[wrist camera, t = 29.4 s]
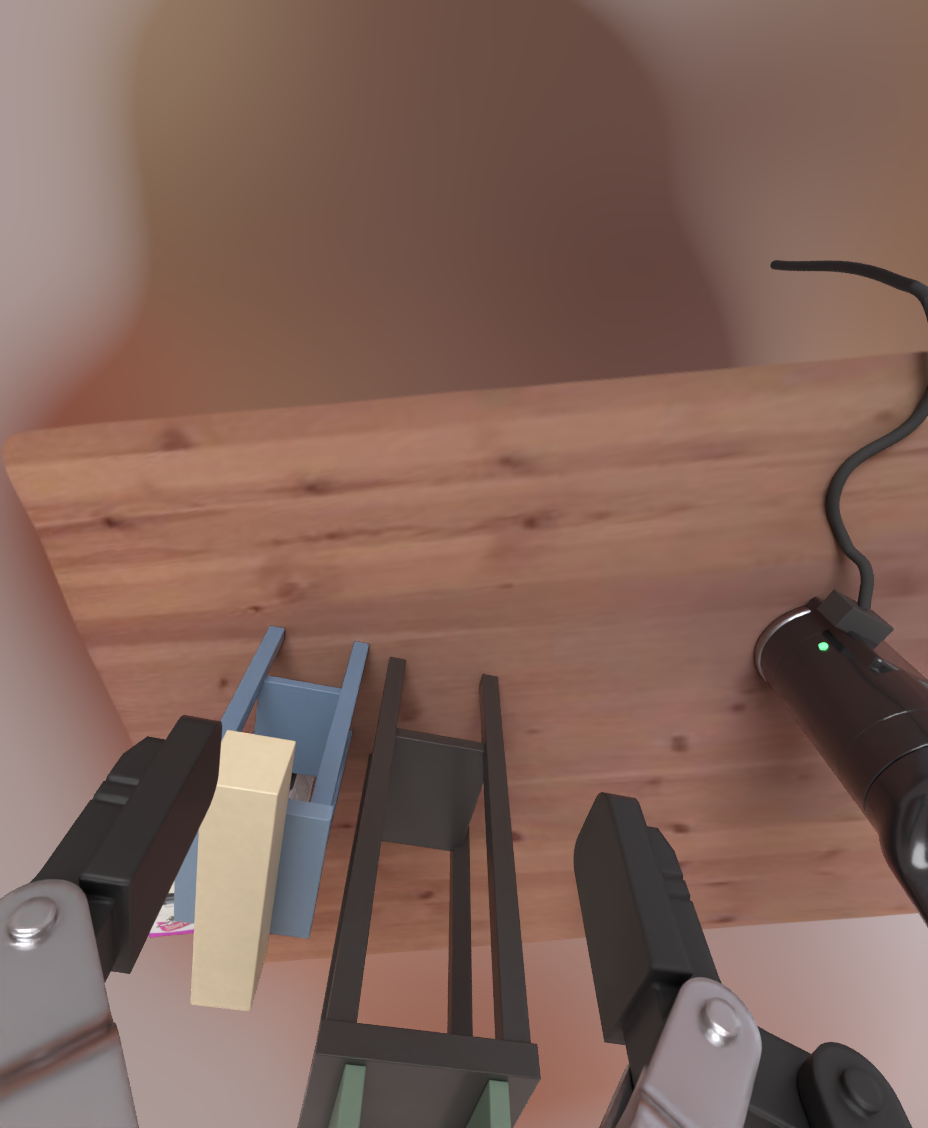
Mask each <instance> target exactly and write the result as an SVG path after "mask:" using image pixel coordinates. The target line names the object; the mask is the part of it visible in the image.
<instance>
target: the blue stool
mask: <svg viewBox="0 0 928 1128" xmlns="http://www.w3.org/2000/svg"><path fill="white" fill-rule="evenodd" d="M284 633H285V628H280V627H275V626H270V627H269V629H268V631H267V632H266V634H265V636H264V638H263V640H262V642H261V644H260V646H259V648H258V650H257V652H256V654H255V656H254V658H253V659H252V661H251V663H250V665H249V667H248V669H247V671H246V673H245V675H244V677H243V679H242V681H241V683H240V684H239V686H238V688H237V690H236V692H235V694H234V696H233V698H232V700H231V702H230V704H229V706H228V708H227V710H226V711H225V713H224V715H223V717H222V719H221V721H220V722H222V739H223V737H224V735H225V733H226V731H227V730H232V731H238V732H241V731H242V729H243V727H244V725H245V723H246V720H247V718H248V716H249V714H250V712H251V710H252V707H253V705H254V703H255V701H256V699H257V697H258V701H257V712H256V722H255V730H254V732H253V734H256V735H262V736H268V737H274V738H280V739H286V740H292V741H296V746H295V753H294V761H293V768H292V773H295V774H302V775H308V776H314V777H317V778H316V782H315V786H314V789H313V793H312V797H311V800H310V802H306V801H300V800H293V799H288V804H287V811H286V818H285V825H284V832H283V840H282V847H281V854H280V861H279V868H278V875H277V883H276V890H275V897H274V904H273V911H272V919H271V926H270V933H269V934H277V935H285V936H292V937H300V938H307V939H308V938H309V936H310V931H311V927H312V922H313V917H314V911H315V906H316V901H317V895H318V890H319V885H320V879H321V874H322V868H323V863H324V858H325V852H326V848H327V844H328V839H329V835H330V830H331V826H332V821H333V817H334V813H335V808H336V804H337V799H338V795H339V791H340V786H341V782H342V777H343V773H344V769H345V764H346V760H347V755H348V751H349V746H350V742H351V737H352V732H353V731H352V730H350V726H351V722H352V718H353V713H354V709H355V705H356V701H357V696H358V692H359V688H360V684H361V679H362V675H363V671H364V666H365V662H366V658H367V653H368V648H369V644H367V643H362V642H356V641H355V642H354V645H353V648H352V652H351V655H350V659H349V663H348V666H347V670H346V674H345V677H344V681H343V684H342V688H336V687H330V686H324V685H319V684H313V683H307V682H302V681H296V680H290V679H285V678H279V677H273V676H268V673H269V671H270V669H271V666H272V664H273V662H274V660H275V658H276V656H277V653H278V651H279V649H280V647H281V645H282V643H283V641H284ZM222 739H221V741H222ZM198 836H199V830H198V832H197V834H196V836H195V839H194V841H193V843H192V845H191V847H190V849H189V851H188V853H187V855H186V857H185V860H184V862H183V864H182V866H181V868H180V870H179V872H178V874H177V876H176V878H175V881H174V921H177V922H185V923H193V924H194V920H195V899H196V878H197V857H198Z"/></svg>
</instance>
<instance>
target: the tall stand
mask: <svg viewBox="0 0 928 1128" xmlns="http://www.w3.org/2000/svg"><path fill="white" fill-rule="evenodd" d="M405 662H406V660H404V659H399V658H393V657H390V660H389V665H388V669H387V675H386V681H385V686H384V692H383V698H382V703H381V709H380V715H379V720H378V726H377V732H376V737H375V743H374V749H373V754H369V759H368V764H367V769H366V775H365V780H364V785H363V791H362V796H361V802H360V807H359V813H358V818H357V824H356V829H355V835H354V840H353V845H352V851H351V856H350V862H349V867H348V873H347V878H346V884H345V889H344V895H343V900H342V905H341V911H340V916H339V922H338V927H337V933H336V938H335V944H334V949H333V955H332V960H331V966H330V971H329V976H328V982H327V988H326V993H325V999H324V1004H323V1009H322V1015H321V1021H320V1025H319V1031H318V1036H317V1042H316V1046H315V1051H314V1055H313V1060H312V1064H311V1069H310V1073H309V1078H308V1082H307V1087H306V1091H305V1095H304V1100H303V1104H302V1109H301V1114H300V1118H299V1122H298V1127H297V1128H513V1127H514V1125H515V1123H516V1122H517V1120H518V1118H519V1116H520V1115H521V1113H522V1111H523V1109H524V1107H525V1105H526V1104H527V1102H528V1100H529V1099H530V1097H531V1095H532V1093H533V1092H534V1090H535V1088H536V1086H537V1084H538V1083H539V1081H540V1078H541V1077H540V1067H539V1057H538V1047H537V1044H532V1043H531V1040H530V1029H529V1018H528V1007H527V997H526V985H525V974H524V963H523V953H522V941H521V930H520V919H519V908H518V896H517V885H516V874H515V863H514V852H513V841H512V830H511V819H510V808H509V797H508V786H507V775H506V764H505V753H504V742H503V731H502V720H501V709H500V698H499V687H498V677H496V676H491V675H485V674H483V675H482V678H481V682H480V685H479V691H480V712H481V734H482V743H480V742H474V741H468V740H462V739H457V738H451V737H445V736H439V735H433V734H427V733H421V732H415V731H410V730H404V729H398V728H397V721H398V713H399V706H400V699H401V691H402V684H403V676H404V669H405ZM483 781H484V800H485V822H486V844H487V865H488V887H489V909H490V931H491V952H492V972H493V997H494V1018H495V1039H490V1038H481V1037H473V1029H472V969H471V907H470V847H469V823H470V820H471V817H472V814H473V811H474V808H475V805H476V802H477V799H478V796H479V793H480V790H481V787H482V784H483ZM381 841H386V842H393V843H400V844H406V845H413V846H420V847H427V848H433V849H440V850H447V851H450V903H449V966H448V971H449V972H448V1029H447V1031H448V1032H447V1033H437V1032H430V1031H421V1030H413V1029H404V1028H396V1027H387V1026H378V1025H370V1024H361V1023H357V1016H358V1009H359V1002H360V994H361V987H362V980H363V972H364V964H365V957H366V950H367V943H368V935H369V928H370V920H371V913H372V906H373V898H374V891H375V883H376V876H377V869H378V861H379V854H380V846H381Z"/></svg>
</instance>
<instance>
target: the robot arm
mask: <svg viewBox="0 0 928 1128" xmlns="http://www.w3.org/2000/svg"><path fill="white" fill-rule="evenodd" d="M770 267H771V268H772V269H775V270H784V271H785V270H786V271H829V272H842V273H849V274H855V275H859V276H863V277H867V278H870V279H873V280H876V281H879V282H882V283H884V284H886V285H889V286H891V287H894V288H896V289H898V290H901V291H904V292H907V293H910V294H912V295H914V296H915V297H916V298H917V299H918V300H919V301H920V302H921V304H922V306H923V308H924V311H925V314H926V317H927V321H928V286H926V285H925V284H923V283H921V282H919V281H917V280H914V279H911V278H907V277H904V276H901V275H898V274H896V273H893V272H891V271H888V270H886V269H883V268H879V267H876V266H872V265H867V264H863V263H858V262H849V261H831V260H830V261H829V260H828V261H782V260H774V261H772V262H771V265H770ZM927 416H928V386H927V389H926V392H925V394H924V396H923V398H922V400H921V402H920V404H919V406H918V407H917V409H916V410H915V412H914V413H913V415H912V416H911V417H910V418H909V419H908V420H907V421H906V422H905V423H903V424H902V425H901V426H900V427H898V428H897V429H895V430H894V431H892V432H890V433H889V434H887V435H885V436H883V437H881V438H880V439H878V440H876V441H874V442H872V443H870V444H868V445H867V446H865V447H863V448H862V449H860V450H859V451H857V452H856V453H854V454H853V455H852V456H850V457H849V458H848V459H847V460H846V461H845V462H844V463H843V464H842V465H841V467H840V468H839V469H838V471H837V473H836V474H835V476H834V478H833V480H832V482H831V485H830V488H829V491H828V495H827V502H826V508H827V515H828V518H829V521H830V524H831V527H832V529H833V531H834V534H835V536H836V538H837V540H838V542H839V544H840V546H841V549H842V550H843V552H844V553H845V554H846V556H847V557H848V558H850V559H851V560H852V561H853V562H854V563H855V564H856V565H857V566H858V568H859V571H860V576H861V585H860V592H859V597H858V602H856V601H854V600H852V599H850V598H848V597H846V596H845V595H843V594H841V593H839V592H837V591H835V590H834V591H833V592H832V593H831V594H830V595H829V596H828V597H827V598H826V599H825V600H824V601H823V600H821V599H819V598H817V597H815V598H813V599H812V600H811V601H810V602H809V603H808V604H807V605H805V606H803V607H799V608H796V609H794V610H791V611H789V612H787V613H785V614H783V615H782V616H780V617H779V618H777V619H776V620H775V621H773V622H772V623H771V624H770V625H769V626H768V627H767V628H766V629H765V631H764V632H763V633H762V635H761V637H760V638H759V640H758V642H757V645H756V648H755V656H754V657H755V664H756V667H757V669H758V671H759V673H760V674H761V676H762V677H763V678H764V680H765V681H766V682H767V683H768V684H769V686H770V687H771V688H772V689H773V691H774V692H775V693H776V694H777V696H778V697H779V699H780V700H781V701H782V703H783V704H784V705H785V707H786V708H787V709H788V711H789V712H790V714H791V715H792V716H793V718H794V719H795V720H796V722H797V723H798V724H799V726H800V727H801V729H802V730H803V731H804V733H805V734H806V735H807V737H808V738H809V739H810V741H811V742H812V744H813V745H814V746H815V748H816V749H817V750H818V752H819V753H820V755H821V756H822V757H823V759H824V760H825V761H826V763H827V764H828V765H829V767H830V768H831V770H832V771H833V772H834V774H835V775H836V776H837V778H838V779H839V780H840V782H841V783H842V785H843V786H844V787H845V789H846V790H847V792H848V793H849V794H850V796H851V797H852V798H853V800H854V801H855V802H856V804H857V805H858V807H859V808H860V809H861V811H862V812H863V813H864V815H865V816H866V818H867V819H868V820H869V822H870V823H871V825H872V826H873V827H874V829H875V830H876V832H877V833H878V836H879V841H880V846H881V850H882V853H883V856H884V858H885V860H886V862H887V864H888V866H889V868H890V869H891V871H892V872H893V874H894V876H895V877H896V879H897V880H898V882H899V883H900V885H901V886H902V888H903V889H904V891H905V893H906V894H907V896H908V897H909V899H910V900H911V902H912V904H913V905H914V907H915V908H916V910H917V911H918V913H919V914H920V916H921V918H922V919H923V921H924V922H925V924H926V926H927V927H928V680H927V679H926V678H925V677H924V676H923V675H922V674H921V673H920V672H918V671H917V670H916V669H915V668H914V667H913V666H912V665H911V664H909V663H908V662H907V661H906V660H905V659H904V658H903V657H902V656H901V655H899V654H898V653H897V652H896V651H895V650H894V649H893V648H892V647H891V646H889V645H888V644H887V643H886V642H885V641H884V639H885V638H886V637H887V636H888V635H889V634H890V633H891V632H892V631H893V630H894V628H893V627H891V626H890V625H889V624H888V623H887V622H885V621H884V620H883V619H882V618H881V617H880V616H878V615H877V614H876V613H875V612H874V611H872V610H870V608H871V599H872V593H873V587H874V575H873V570H872V567H871V564H870V562H869V561H868V560H867V558H866V557H865V556H864V555H862V554H861V553H860V552H859V551H858V550H856V549H855V547H854V546H853V544H852V542H851V540H850V538H849V535H848V533H847V531H846V529H845V527H844V524H843V522H842V519H841V515H840V510H839V501H840V496H841V492H842V489H843V486H844V484H845V482H846V480H847V478H848V477H849V475H850V474H851V472H852V471H853V470H854V469H855V468H856V467H857V466H858V465H859V464H861V463H862V462H863V461H865V460H866V459H868V458H869V457H871V456H873V455H875V454H876V453H878V452H880V451H882V450H884V449H886V448H888V447H890V446H892V445H893V444H895V443H897V442H899V441H900V440H902V439H903V438H905V437H906V436H908V435H909V434H910V433H912V432H913V431H914V430H915V429H917V428H918V427H919V425H920V424H921V423H922V422H923V421H924V420H925V419H926V417H927ZM221 739H222V722H220V721H215V720H209V719H204V718H198V717H193V716H187V715H183V716H182V717H181V718H180V719H179V720H178V721H177V723H176V725H175V726H174V728H173V729H172V731H171V732H170V734H169V736H168V737H167V739H166V740H164V739H159V738H153V737H148V736H147V737H146V738H145V739H143V740H142V741H140V742H139V743H138V744H136V745H135V746H133V747H132V748H131V749H129V750H128V751H126V752H125V753H124V754H123V755H122V756H121V757H120V759H119V760H118V762H117V763H116V764H115V766H114V767H113V769H112V770H111V772H110V773H109V774H108V776H107V779H106V781H103V783H102V784H101V786H100V787H99V789H98V790H97V791H96V793H95V794H94V797H93V799H92V800H90V801H89V803H88V804H87V806H86V807H85V809H84V810H83V811H82V813H81V814H80V816H79V817H78V818H77V820H76V821H75V823H74V824H73V825H72V827H71V828H70V830H69V831H68V833H67V834H66V835H65V837H64V838H63V840H62V841H61V842H60V844H59V845H58V847H57V848H56V850H55V851H54V853H53V854H52V856H51V857H50V858H49V860H48V861H47V863H46V864H45V865H44V867H43V868H42V869H41V871H40V872H39V873H38V874H37V876H36V877H35V878H34V879H33V880H32V881H31V882H30V883H28V884H26V885H23V886H21V887H19V888H17V889H15V890H13V891H11V892H9V893H8V894H6V895H5V896H4V897H2V898H1V899H0V1128H139V1125H138V1121H137V1116H136V1111H135V1106H134V1102H133V1097H132V1092H131V1087H130V1083H129V1078H128V1073H127V1069H126V1064H125V1059H124V1055H123V1050H122V1046H121V1041H120V1037H119V1033H118V1029H117V1026H116V1024H115V1023H114V1022H113V1019H112V1016H111V1012H110V1007H109V1002H108V997H107V992H106V988H105V982H106V979H107V978H108V976H109V974H110V972H111V971H113V972H120V973H127V974H130V973H131V971H132V968H133V967H134V964H135V962H136V960H137V958H138V956H139V954H140V952H141V950H142V948H143V946H144V943H145V941H146V939H147V937H148V935H149V933H150V931H151V929H152V927H153V925H154V922H155V920H156V918H157V916H158V914H159V912H160V910H161V908H162V906H163V904H164V902H165V899H166V897H167V895H168V893H169V891H170V889H171V887H172V885H173V883H174V881H175V878H176V876H177V874H178V872H179V870H180V868H181V866H182V864H183V862H184V860H185V857H186V855H187V853H188V851H189V849H190V847H191V845H192V843H193V841H194V839H195V836H196V834H197V832H198V830H199V828H200V826H201V824H202V822H203V820H204V818H205V815H206V813H207V811H208V809H209V807H210V805H211V802H212V799H213V797H214V793H215V790H216V786H217V782H218V777H219V765H220V752H221ZM574 871H575V877H576V883H577V888H578V894H579V900H580V906H581V911H582V917H583V923H584V928H585V934H586V940H587V945H588V951H589V957H590V962H591V968H592V974H593V979H594V985H595V991H596V997H597V1002H598V1008H599V1014H600V1019H601V1025H602V1030H603V1036H604V1042H607V1043H614V1044H621V1045H626V1049H627V1055H628V1059H629V1064H628V1065H627V1067H626V1069H625V1070H624V1073H623V1075H622V1077H621V1079H620V1081H619V1084H618V1086H617V1088H616V1091H615V1093H614V1095H613V1097H612V1100H611V1102H610V1104H609V1106H608V1109H607V1111H606V1113H605V1115H604V1118H603V1120H602V1122H601V1125H600V1127H599V1128H912V1126H911V1124H910V1122H909V1120H908V1118H907V1116H906V1114H905V1112H904V1110H903V1107H902V1105H901V1103H900V1101H899V1099H898V1097H897V1095H896V1094H895V1092H894V1090H893V1089H892V1087H891V1086H890V1084H889V1083H888V1082H887V1080H886V1079H885V1078H884V1076H883V1075H882V1074H881V1073H880V1072H879V1071H878V1069H877V1068H876V1067H875V1066H874V1065H873V1064H872V1063H871V1062H869V1061H868V1060H867V1059H866V1058H865V1057H863V1056H862V1055H861V1054H860V1053H858V1052H856V1051H855V1050H853V1049H851V1048H849V1047H848V1046H845V1045H843V1044H840V1043H834V1042H827V1043H824V1044H821V1045H820V1046H819V1047H818V1048H817V1049H816V1050H815V1051H814V1052H813V1053H812V1054H810V1053H808V1052H806V1051H804V1050H802V1049H800V1048H798V1047H796V1046H794V1045H792V1044H790V1043H788V1042H786V1041H784V1040H782V1039H780V1038H779V1037H777V1036H775V1035H773V1034H771V1033H769V1032H767V1031H765V1030H763V1029H762V1028H760V1027H759V1026H757V1024H756V1022H755V1020H754V1018H753V1016H752V1015H751V1013H750V1011H749V1010H748V1008H747V1007H746V1006H745V1004H744V1003H743V1002H742V1001H741V1000H740V999H739V998H738V997H737V996H736V995H735V994H734V993H733V992H732V991H731V990H730V989H728V988H727V987H725V986H724V985H723V984H722V983H721V981H720V979H719V976H718V974H717V971H716V968H715V965H714V962H713V959H712V957H711V954H710V951H709V948H708V945H707V942H706V939H705V936H704V934H703V931H702V928H701V925H700V922H699V919H698V917H697V914H696V911H695V908H694V905H693V902H692V901H690V894H689V891H688V888H687V885H686V883H685V881H684V880H683V874H682V871H681V868H680V866H679V863H678V860H677V857H676V854H675V851H674V850H673V849H672V847H671V846H670V844H669V843H668V842H667V840H666V839H665V838H664V836H663V835H662V833H661V832H660V831H659V829H658V828H653V827H648V826H646V822H645V819H644V816H643V813H642V810H641V807H640V804H639V802H638V801H637V799H635V798H631V797H626V796H620V795H615V794H609V793H604V792H601V793H599V794H598V796H597V797H596V799H595V801H594V803H593V806H592V808H591V810H590V812H589V814H588V816H587V818H586V821H585V823H584V825H583V827H582V829H581V831H580V833H579V836H578V838H577V841H576V844H575V850H574Z"/></svg>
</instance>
